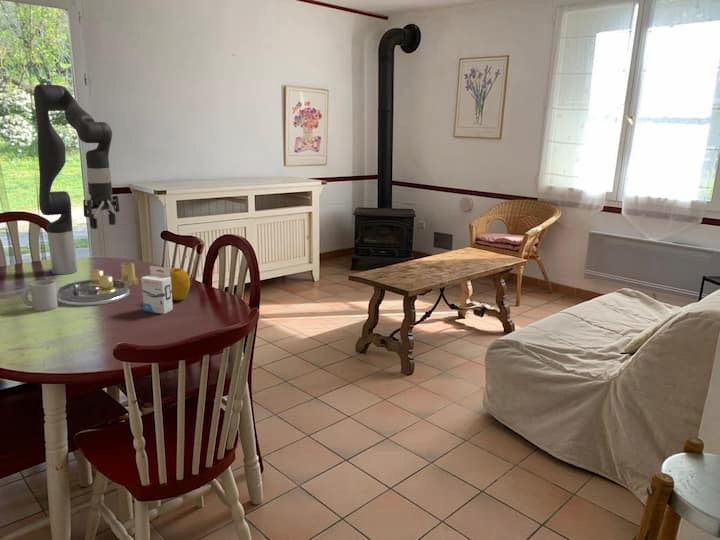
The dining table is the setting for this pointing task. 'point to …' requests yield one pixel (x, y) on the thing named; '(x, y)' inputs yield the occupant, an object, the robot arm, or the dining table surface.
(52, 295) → the cup
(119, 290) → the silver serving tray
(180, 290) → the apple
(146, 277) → the ink box
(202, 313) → the dining table surface
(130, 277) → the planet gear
